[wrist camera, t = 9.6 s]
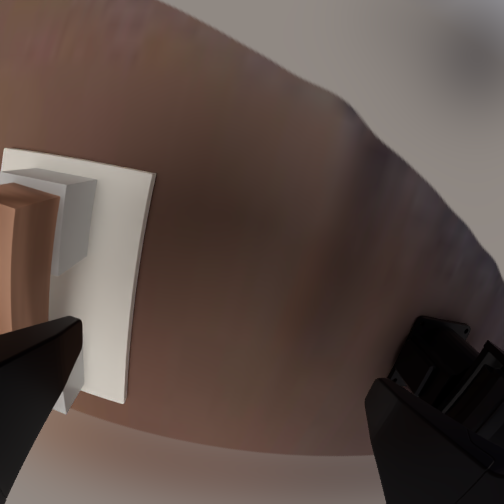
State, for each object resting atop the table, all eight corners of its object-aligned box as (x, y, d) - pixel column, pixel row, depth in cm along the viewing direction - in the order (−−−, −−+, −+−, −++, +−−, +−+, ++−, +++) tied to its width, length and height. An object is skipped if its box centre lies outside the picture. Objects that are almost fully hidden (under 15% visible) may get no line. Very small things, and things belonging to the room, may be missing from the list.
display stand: (156, 173, 19) (131, 177, 14) (126, 396, 23) (110, 438, 19) (12, 147, 18) (-32, 149, 13) (11, 353, 22) (-17, 382, 17)
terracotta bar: (60, 196, 14) (15, 208, 10) (52, 405, 18) (30, 441, 14) (13, 182, 14) (-34, 191, 10) (14, 386, 17) (-11, 418, 13)
